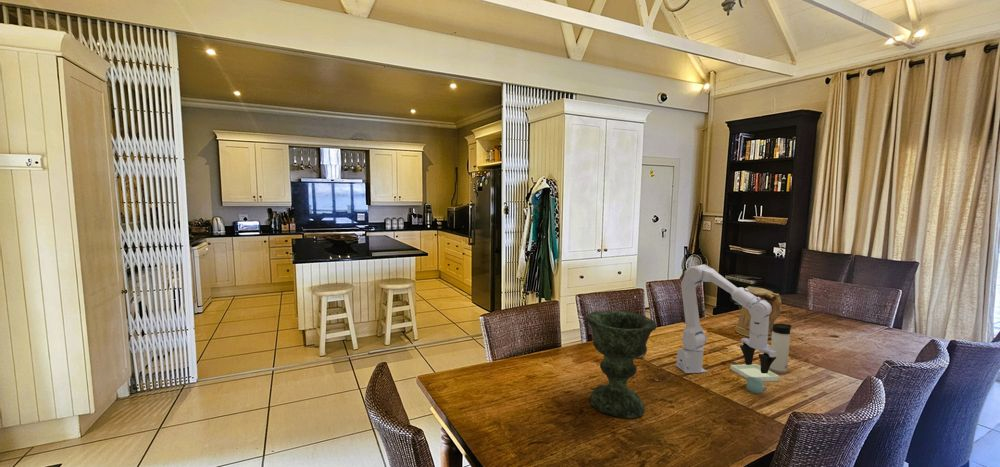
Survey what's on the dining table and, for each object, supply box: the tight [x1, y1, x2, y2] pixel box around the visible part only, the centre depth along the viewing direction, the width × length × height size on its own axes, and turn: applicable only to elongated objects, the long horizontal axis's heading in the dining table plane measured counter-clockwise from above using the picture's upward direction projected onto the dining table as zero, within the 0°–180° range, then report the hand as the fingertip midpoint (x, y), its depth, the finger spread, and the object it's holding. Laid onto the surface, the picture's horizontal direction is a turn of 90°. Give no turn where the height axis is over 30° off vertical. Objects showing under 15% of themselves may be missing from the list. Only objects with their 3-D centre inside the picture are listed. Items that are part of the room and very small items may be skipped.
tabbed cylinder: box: [746, 377, 767, 394], centre depth 152 cm, size 7×5×4 cm
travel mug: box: [769, 323, 792, 375], centre depth 169 cm, size 6×7×20 cm
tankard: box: [734, 286, 782, 340], centre depth 214 cm, size 18×24×25 cm
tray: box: [730, 363, 780, 383], centre depth 165 cm, size 12×12×2 cm
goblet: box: [584, 310, 658, 419], centre depth 138 cm, size 22×22×30 cm
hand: (756, 368), depth 151 cm, fingers open, 7 cm apart
